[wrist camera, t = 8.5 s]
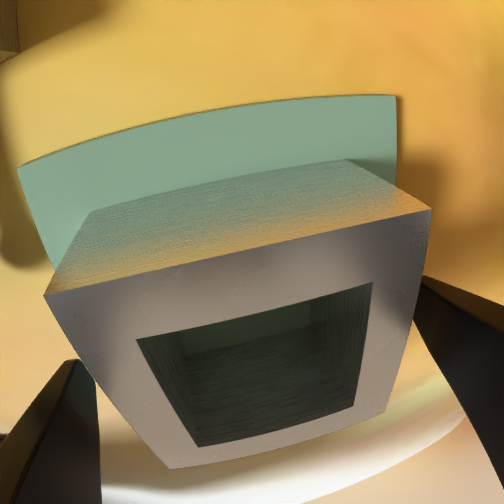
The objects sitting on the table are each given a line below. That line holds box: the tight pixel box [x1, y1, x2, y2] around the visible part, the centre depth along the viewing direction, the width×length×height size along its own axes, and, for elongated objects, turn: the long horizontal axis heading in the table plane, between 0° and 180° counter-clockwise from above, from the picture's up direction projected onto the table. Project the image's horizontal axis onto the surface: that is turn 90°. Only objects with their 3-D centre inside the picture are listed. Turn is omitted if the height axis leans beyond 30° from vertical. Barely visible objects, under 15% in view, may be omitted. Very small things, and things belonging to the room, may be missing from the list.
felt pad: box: [16, 94, 397, 355], centre depth 10 cm, size 10×10×1 cm
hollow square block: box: [43, 159, 432, 469], centre depth 8 cm, size 7×7×4 cm
